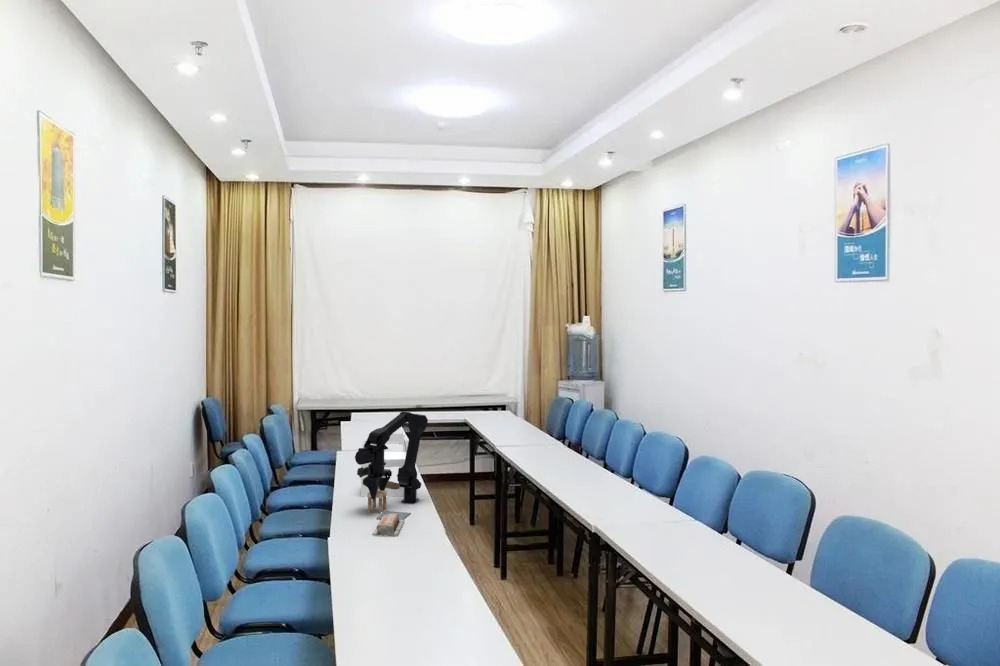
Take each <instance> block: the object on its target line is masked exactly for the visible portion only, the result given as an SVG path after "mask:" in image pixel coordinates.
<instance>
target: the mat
mask: <svg viewBox="0 0 1000 666" xmlns="http://www.w3.org/2000/svg"><path fill="white" fill-rule="evenodd" d="M392 513H396V514H399V520H403V519H404V518H405V519H407V518H408V517H409V516H410V515H411V512H406V511H405V512H404V511H393V510H392V511H391V510H385V511H384V512H382V513H380V515H379V516H377V517H376V520H378V519H381V518H382V517H383V516H384V515H387V514H392ZM408 515H409V516H408ZM407 516H408V517H407ZM405 519H404V520H405Z"/></svg>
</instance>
